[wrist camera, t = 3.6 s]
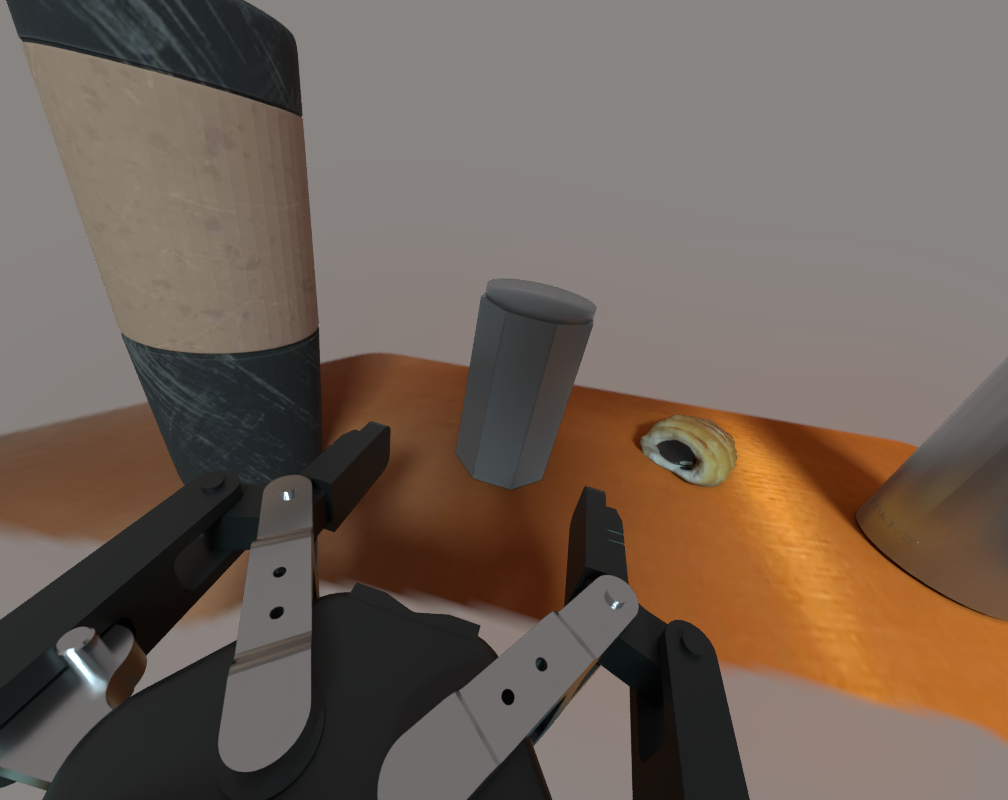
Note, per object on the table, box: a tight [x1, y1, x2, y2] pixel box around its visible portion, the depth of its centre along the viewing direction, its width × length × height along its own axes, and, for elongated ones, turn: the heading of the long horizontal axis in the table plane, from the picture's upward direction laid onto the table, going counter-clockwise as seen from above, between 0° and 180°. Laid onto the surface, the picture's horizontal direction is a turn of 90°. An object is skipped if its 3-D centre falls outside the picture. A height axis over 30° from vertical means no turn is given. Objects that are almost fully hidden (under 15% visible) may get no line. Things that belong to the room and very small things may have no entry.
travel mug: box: [6, 0, 322, 485], centre depth 17 cm, size 8×8×20 cm
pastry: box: [640, 415, 737, 487], centre depth 31 cm, size 9×7×4 cm
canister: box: [456, 279, 596, 490], centre depth 23 cm, size 6×6×12 cm
